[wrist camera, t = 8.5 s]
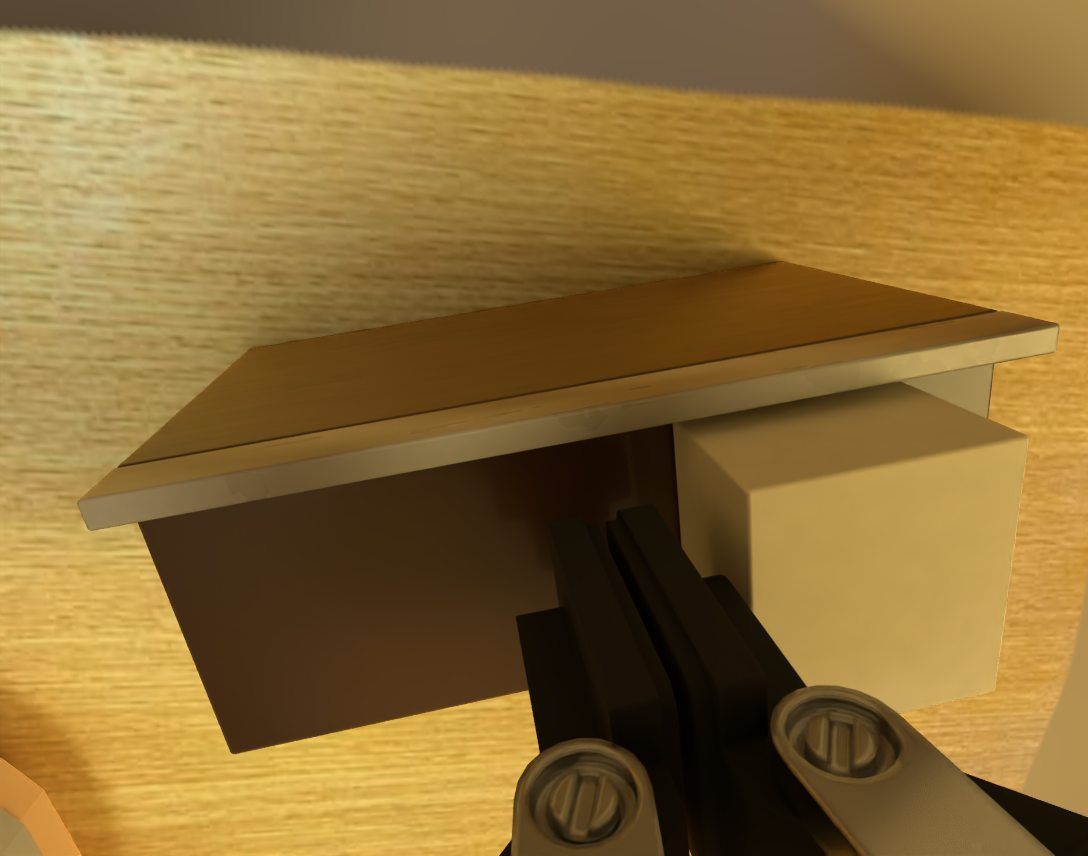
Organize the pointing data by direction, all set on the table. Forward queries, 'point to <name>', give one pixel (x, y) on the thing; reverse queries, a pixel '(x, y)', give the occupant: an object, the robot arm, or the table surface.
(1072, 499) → the table surface
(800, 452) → the tan block
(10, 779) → the desk lamp
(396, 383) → the counter
